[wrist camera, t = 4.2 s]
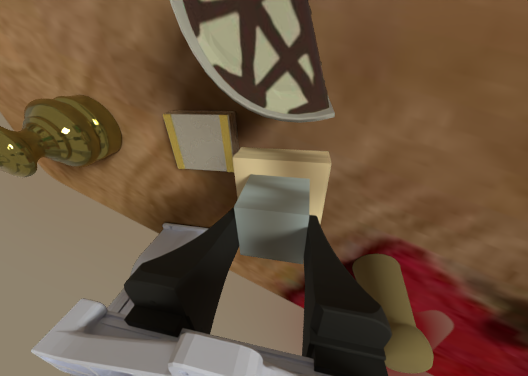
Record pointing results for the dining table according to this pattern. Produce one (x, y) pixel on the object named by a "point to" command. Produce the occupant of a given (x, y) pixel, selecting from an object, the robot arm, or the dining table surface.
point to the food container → (259, 54)
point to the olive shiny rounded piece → (59, 135)
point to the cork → (394, 313)
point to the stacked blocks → (278, 199)
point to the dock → (203, 139)
